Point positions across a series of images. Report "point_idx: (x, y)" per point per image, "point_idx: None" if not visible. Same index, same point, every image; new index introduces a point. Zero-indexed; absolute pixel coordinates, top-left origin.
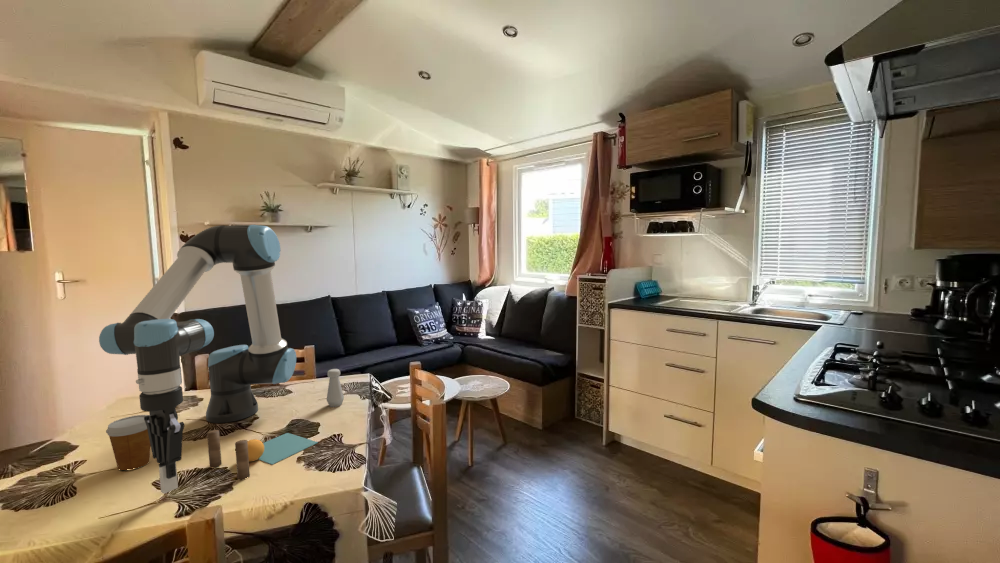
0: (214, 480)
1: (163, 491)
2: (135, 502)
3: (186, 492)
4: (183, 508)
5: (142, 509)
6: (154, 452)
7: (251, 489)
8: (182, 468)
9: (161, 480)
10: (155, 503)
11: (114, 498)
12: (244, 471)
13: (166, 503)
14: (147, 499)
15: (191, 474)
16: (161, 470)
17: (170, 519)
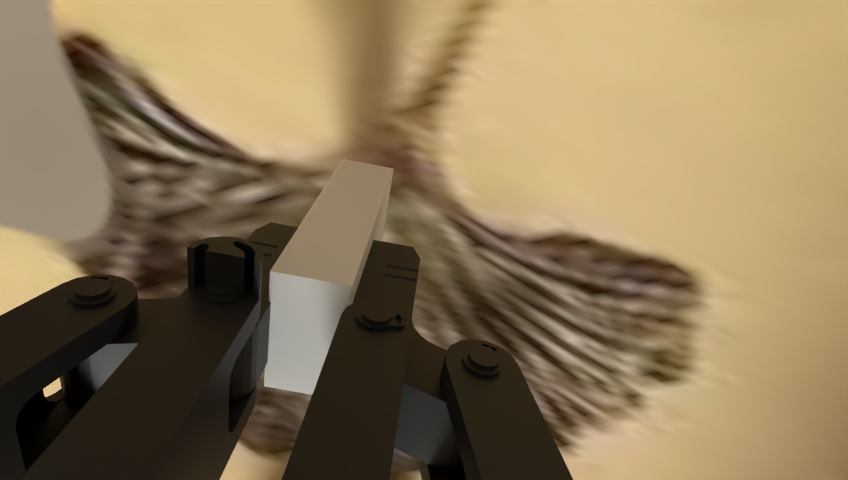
0: None
1: (348, 165)
2: (561, 71)
3: None
4: (151, 123)
5: (409, 24)
6: (457, 402)
7: None
8: (650, 427)
9: (352, 203)
10: (399, 107)
11: (793, 58)
12: None
13: (324, 130)
14: (510, 125)
15: None
16: (310, 246)
17: (82, 2)
